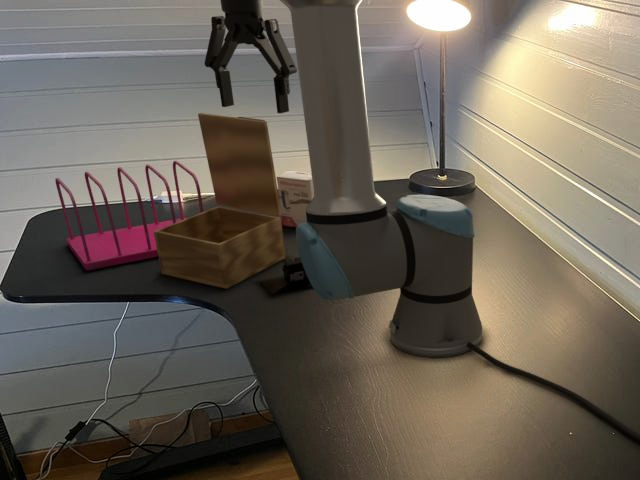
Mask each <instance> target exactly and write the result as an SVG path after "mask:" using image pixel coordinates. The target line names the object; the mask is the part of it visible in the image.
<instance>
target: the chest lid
mask: <svg viewBox="0 0 640 480" xmlns="http://www.w3.org/2000/svg"><path fill="white" fill-rule="evenodd" d="M197 117H198V122H199V127H200V132H201V136H202V141H203V145H204V150H205V155H206V160H207V165H208V169H209V174H210V180H211V183H212V188H213V192H214V198H215V202H216V205H217V206H222V207H227V208H233V209H238V210H244V211H249V212H255V213H260V214H265V215H271V216H276V217H280V216H282V214H281V207H280V199H279V192H278V184H277V176H276V171H275V170H276V169H275V165H274V158H273V152H272V146H271V140H270V134H269V127H268V126H269V125H268V122H267V121H266V120H265V119H259V118H252V117H244V116H237V117H235V116H227V115H220V114H211V113H205V112H204V113H203V112H199V113H197Z"/></svg>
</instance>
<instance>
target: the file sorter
mask: <svg viewBox="0 0 640 480" xmlns="http://www.w3.org/2000/svg"><path fill="white" fill-rule="evenodd" d="M177 166H178V167H179V168H180V169H182V170H184V171H185V172H186V173H187V174H188V175H189V176H191V177H192V179H193V181H194V183H195V187H196V193H197V199H198V205H199V213H202V212H205V211H204V206H203V199H202V193H201V188H200V183H199V181H198V178H197V176H196V174H195V173H194V172H193V171H192V170H191V169H189V168H188V167H187V166H185V165H184V164H182V163H181V162H179V161H178V160H174V161H173V162H172V172H173V178H174V184H175V190H176V196H177V203H178V208H179V214H180V218H177V219H176V213H175V209H174V202H173V197H172V192H171V188H170V185H169V183H168V181H167V178H165V177H164V176H163V175H162V174H161V173H160V172H159V171H158V170H157V169H156V168H154V167H153V166H152V165H151V164H145V166H144V167H145V169H144V171H145V177H146V182H147V188H148V193H149V198H150V203H151V208H152V213H153V218H154V223H148V224H147V219H146V216H145V210H144V205H143V201H142V195H141V192H140V189H139V187H138V185H137V183H136V182H135V180H134V179H133V178H132V176H130V174H129V173H127V172H126V171H125V170H124V169H123V167H120V166H119V167H117V172H116V173H117V178H118V184H119V189H120V193H121V199H122V204H123V205H122V206H123V208H124V214H125V219H126V225H127V227H124V228H119V229H118V228H117V229H116V228H115V224H114V221H113V216H112V213H111V208H110V205H109V201H108V198H107V194H106V192H105V189H104V187H103V185H102V183H100V182H99V181H98V179H96V178H95V177H94V176H93V175H92V174H91V173H90V172H89V171H84V179H85V180H84V181H85V183H86V188H87V191H88V195H89V199H90V203H91V205H92V209H93V213H94V217H95V220H96V224H97V228H98V231H99V232H96V233H89V234H85V233H84V229H83V225H82V222H81V217H80V214H79V210H78V206H77V203H76V200H75V197H74V195H73V192H72V191H71V190H70V188H69V187H68V186H67V185H66V184H65V182H63V181H62V180H61V179H60V177H56V178H55V181H54V182H55V186H56V190H57V194H58V198H59V201H60V204H61V208H62V213H63V215H64V219H65V223H66V227H67V231H68V234H69V237H68V238H66V243H67V246H68V248H69V249H70V250H71V252H72V253H73V254H74V256H75V258H76V259H77V260H78V262H79V263H80V264H81V265H82V267H83V268H84V270H85V271H93V270H98V269H102V268H107V267H111V266H117V265H123V264H126V263H132V262H137V261H142V260H147V259H152V258H157V257H158V252H157V247H156V242H155V237H154V233H153V231H155V230H158V229H161V228H163V227H166V226H168V225H171V224H174V223H176V222H179V221H181V220H184V219H186V218H187V217H185V216H184V209H183V204H182V197H181V193H180V186H179V180H178V175H177ZM149 170H150V171H151V172H153V174H155V175H156V176H157V177H158V178H159V179H161V180H162V181H163V184H164V185H165V188H166V189H165V190H166V192H167V197H168V201H169V202H168V203H169V208H170V213H171V218H172V219H171V220H165V221H158V215H157V210H156V204H155V199H154V195H153V189H152V183H151V178H150V172H149ZM122 175H123V176H124V177H125V178H126V179H127V180H128V181H129V182H130V183H131V184H132V185H133V187H134V190H135V193H136V197H137V202H138V206H139V211H140V215H141V222H142V224H141V225H136V226H132V225H131V219H130V216H129V215H130V214H129V210H128V204H127V200H126V195H125V190H124V185H123V180H122ZM89 179H90V180H91V181H92V182H93V183H94V184H95V185H96V186H97V187H98V188H99V190H100V192H101V195H102V198H103V201H104V206H105V210H106V213H107V216H108V220H109V224H110V227H111V230H106V231H103V228H102V224H101V220H100V217H99V213H98V210H97V209H98V208H97V206H96V201H95V198H94V195H93V192H92V188H91V184H90V180H89ZM61 187H62V188H63V189H64V191H65V192H66V193H67V195H68V196H69V199H70V201H71V204H72V207H73V211H74V214H75V218H76V222H77V226H78V230H79V234H80V235H78V236H74V233H73V230H72V225H71V223H70V218H69V214H68V212H67V208H66V204H65V200H64V196H63V193H62V190H61ZM158 258H159V257H158Z"/></svg>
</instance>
